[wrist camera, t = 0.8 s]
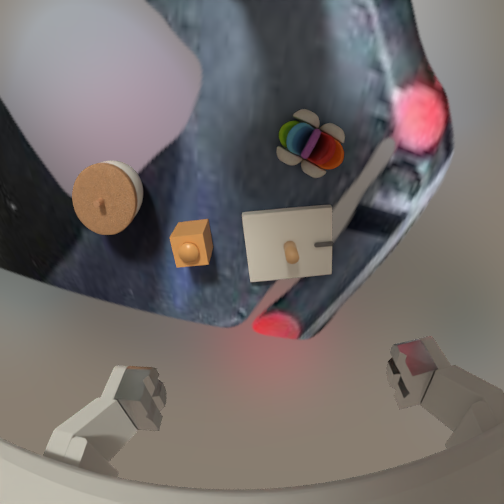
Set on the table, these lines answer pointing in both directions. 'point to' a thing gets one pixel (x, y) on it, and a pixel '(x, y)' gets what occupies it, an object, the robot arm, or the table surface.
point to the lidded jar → (107, 196)
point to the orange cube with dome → (192, 243)
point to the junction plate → (288, 229)
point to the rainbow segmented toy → (311, 144)
